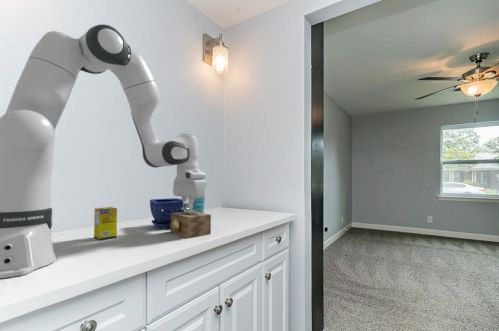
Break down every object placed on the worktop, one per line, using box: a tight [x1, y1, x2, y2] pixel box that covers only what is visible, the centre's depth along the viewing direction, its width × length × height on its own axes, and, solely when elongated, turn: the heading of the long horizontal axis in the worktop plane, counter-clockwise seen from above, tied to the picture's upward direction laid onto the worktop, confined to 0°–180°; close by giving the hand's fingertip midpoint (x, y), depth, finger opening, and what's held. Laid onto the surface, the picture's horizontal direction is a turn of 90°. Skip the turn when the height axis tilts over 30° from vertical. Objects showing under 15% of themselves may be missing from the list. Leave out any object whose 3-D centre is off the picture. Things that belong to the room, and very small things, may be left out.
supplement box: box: [93, 206, 118, 241], centre depth 93 cm, size 6×6×11 cm
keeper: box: [181, 207, 198, 214], centre depth 102 cm, size 3×9×1 cm, turn 42°
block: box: [170, 211, 212, 239], centre depth 101 cm, size 10×14×8 cm
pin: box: [172, 220, 181, 232], centre depth 101 cm, size 14×5×5 cm, turn 132°
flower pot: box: [149, 197, 185, 230], centre depth 115 cm, size 13×13×12 cm
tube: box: [192, 182, 207, 213], centre depth 116 cm, size 7×5×19 cm, turn 123°
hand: (188, 208), depth 104 cm, fingers closed
